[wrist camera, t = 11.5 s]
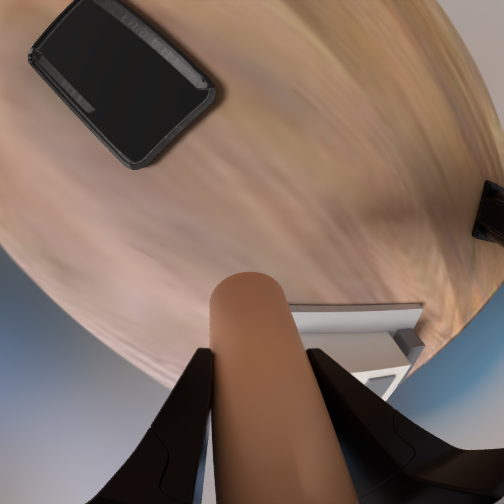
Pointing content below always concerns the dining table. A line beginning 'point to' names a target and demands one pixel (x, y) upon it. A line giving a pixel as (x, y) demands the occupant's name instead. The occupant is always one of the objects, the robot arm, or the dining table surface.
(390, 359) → the white socket block
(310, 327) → the board
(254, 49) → the dining table surface
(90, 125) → the phone
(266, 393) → the orange-brown tapered capsule
